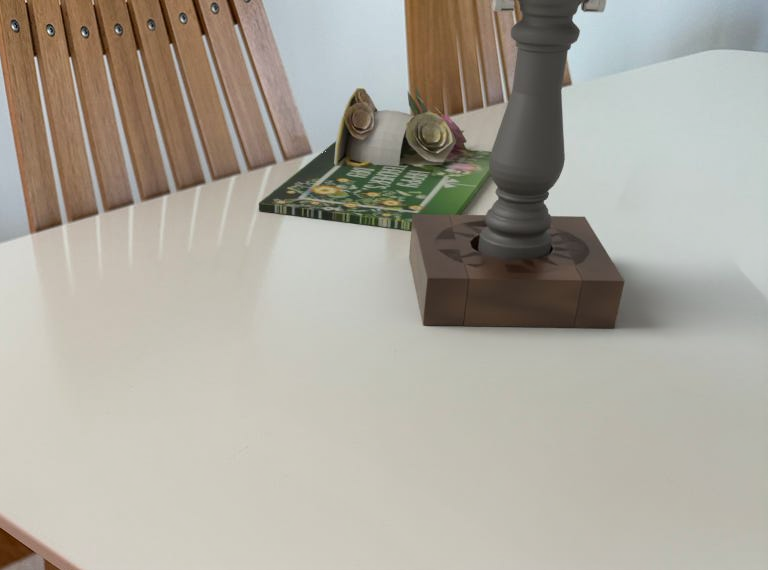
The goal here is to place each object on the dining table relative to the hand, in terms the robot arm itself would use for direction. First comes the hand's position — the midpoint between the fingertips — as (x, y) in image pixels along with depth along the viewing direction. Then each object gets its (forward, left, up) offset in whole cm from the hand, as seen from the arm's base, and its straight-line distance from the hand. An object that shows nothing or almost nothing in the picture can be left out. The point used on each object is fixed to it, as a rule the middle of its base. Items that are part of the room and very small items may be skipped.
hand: (546, 11), depth 79 cm
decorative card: (+8, -33, -22) cm, 40 cm away
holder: (0, 0, -22) cm, 22 cm away
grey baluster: (0, 0, -20) cm, 20 cm away
